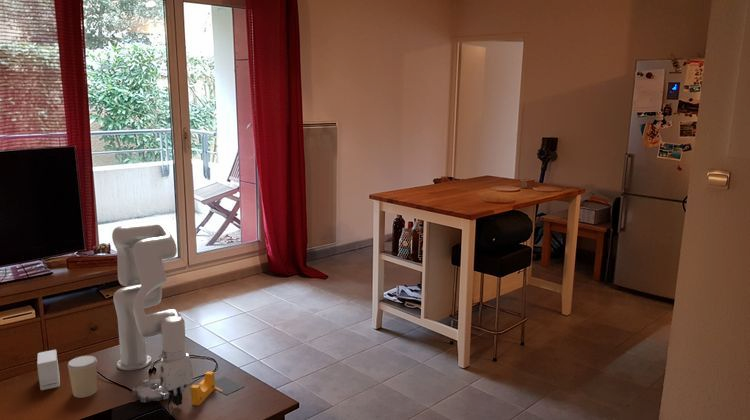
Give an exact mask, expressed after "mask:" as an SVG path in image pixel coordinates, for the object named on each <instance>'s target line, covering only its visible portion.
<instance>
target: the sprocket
mask: <svg viewBox="0 0 750 420" xmlns="http://www.w3.org/2000/svg"><path fill="white" fill-rule="evenodd" d="M161 388H162V387H161V386H160V378H153V379H150V380H149V379H148V378H146V379H144V380H142V382H141V383H140V384H139V385H138V386H137V387H135V388H132V389H131V393H132V394H131V395H132V397H134V396H137V398H138V399H140V403H147V402H146V401H148V400H158V399H163V400H162V401H165V400H167V399H169V398H170V396H171V395H172V394H171V393H162V392H161ZM169 395H170V396H169Z"/></svg>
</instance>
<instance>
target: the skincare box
mask: <svg viewBox="0 0 750 420" xmlns="http://www.w3.org/2000/svg"><path fill="white" fill-rule="evenodd" d="M57 352H58V351H57V349H52V350H45V351H40V352H38V353H37V361H36V363H37V364H36V365H37V375H38V376H37V377H38V381H39V382H38V383H39V388H40V391H44V390H45V391H46V390H49V389H54V388H58V387H61V379H60V378H61V377H60V369H59V361H58V353H57Z"/></svg>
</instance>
